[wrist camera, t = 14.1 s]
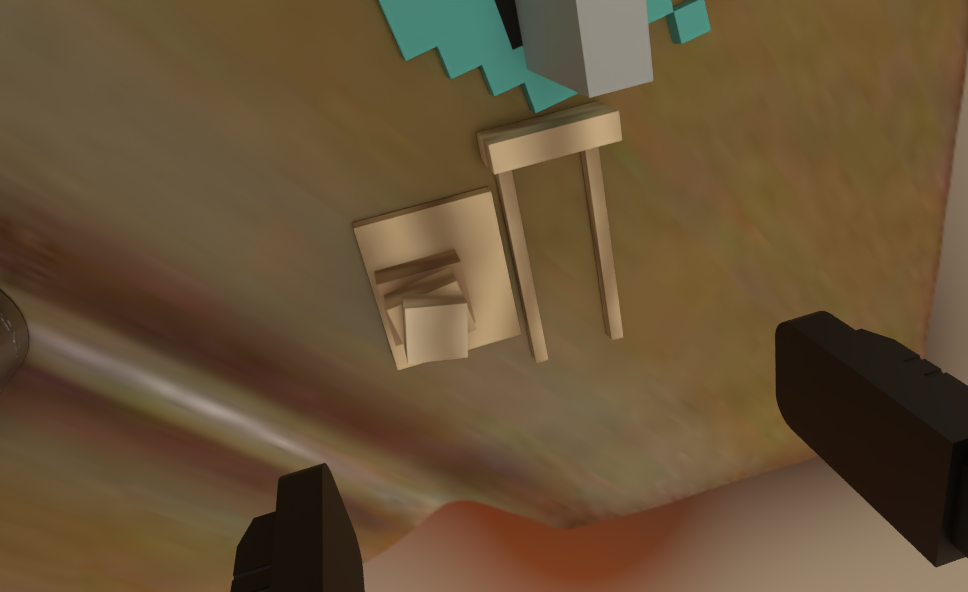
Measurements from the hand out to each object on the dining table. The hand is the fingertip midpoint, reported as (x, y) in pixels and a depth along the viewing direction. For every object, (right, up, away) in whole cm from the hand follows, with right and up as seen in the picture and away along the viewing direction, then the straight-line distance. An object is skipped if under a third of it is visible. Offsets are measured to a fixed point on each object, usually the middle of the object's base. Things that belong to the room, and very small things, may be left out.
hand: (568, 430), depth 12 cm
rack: (-1, +5, +40) cm, 41 cm away
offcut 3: (-5, +1, +35) cm, 35 cm away
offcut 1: (-6, +3, +39) cm, 39 cm away
